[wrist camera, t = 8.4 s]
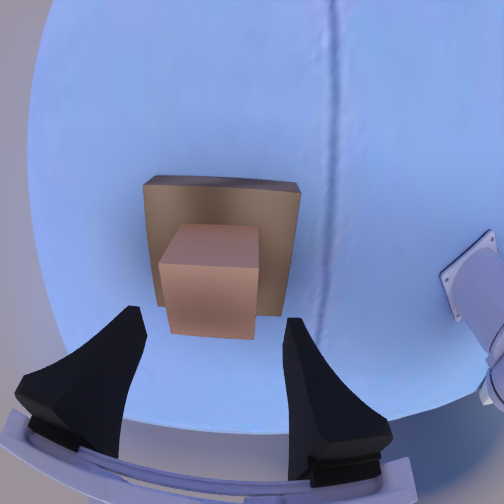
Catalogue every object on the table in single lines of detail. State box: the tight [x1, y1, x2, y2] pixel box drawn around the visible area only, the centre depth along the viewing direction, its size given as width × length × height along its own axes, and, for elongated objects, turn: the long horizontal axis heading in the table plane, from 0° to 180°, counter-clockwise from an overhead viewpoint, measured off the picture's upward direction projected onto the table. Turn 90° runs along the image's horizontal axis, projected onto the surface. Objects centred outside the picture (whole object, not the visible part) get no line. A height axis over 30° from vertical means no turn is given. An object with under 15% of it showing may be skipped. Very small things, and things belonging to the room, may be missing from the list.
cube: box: [158, 224, 259, 340], centre depth 17 cm, size 5×5×5 cm
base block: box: [143, 176, 301, 316], centre depth 20 cm, size 10×10×3 cm
